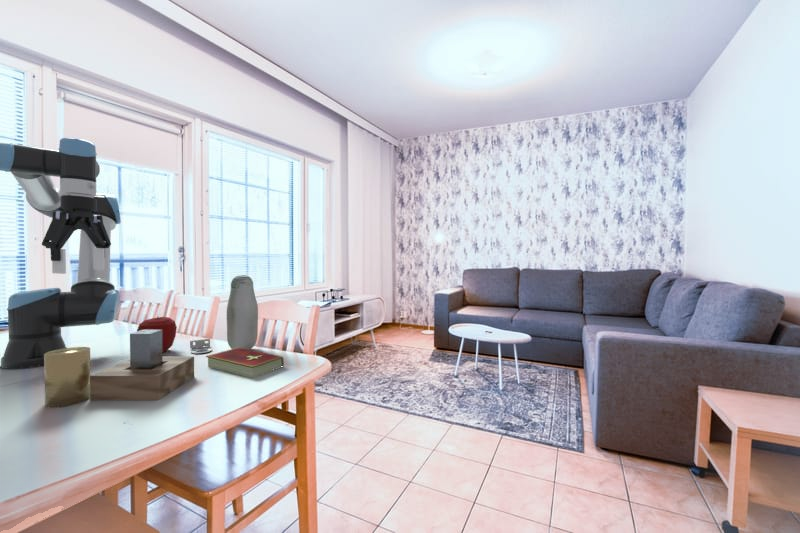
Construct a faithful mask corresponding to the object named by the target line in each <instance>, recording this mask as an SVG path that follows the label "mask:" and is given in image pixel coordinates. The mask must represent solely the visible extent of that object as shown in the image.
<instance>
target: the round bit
mask: <svg viewBox="0 0 800 533" xmlns="http://www.w3.org/2000/svg"><path fill="white" fill-rule="evenodd" d="M43 367H44V370H43V371H44V373H43V374H44V404H45V405H44V407H46V408H48V407H49V409H55V408H56V409H58V407H59V408H65V407H71V406H74V405H79V404H81V403H83V402H86V401H87V400H90V376H91V374H92V372H91V369H92V368H91V348H90V347H88V346H74V347H66V348H64V349H58V350H53V351H50V352H47V353H45V354H44V365H43Z"/></svg>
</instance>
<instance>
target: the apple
mask: <svg viewBox="0 0 800 533" xmlns="http://www.w3.org/2000/svg"><path fill="white" fill-rule="evenodd" d="M177 328H178V326H177V324H176V321H175V320H174V319H173V318H171V317H168V316H160V317H159V316H157V317H153V318H148V319H144V320H143V321H142V322H141V323H139V325H138V327H137V329H136V332H137V331H140V330H162V354H163V353H166V352H168V350H169V349H170V348H172V346H173V344H174V341H175V339H176V334H177Z"/></svg>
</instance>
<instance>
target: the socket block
mask: <svg viewBox="0 0 800 533" xmlns="http://www.w3.org/2000/svg"><path fill="white" fill-rule="evenodd" d="M162 357H163V364H162V365H160V366H158V367H156V368H154V369H152V370H130V358H129V359H127V360H124V361H123V362H120V363H117V364H114V365H113V366H110V367H108V368H106V369H103V370H101V371H98V372H96V373H94V374H92V375H91V376H90V398H89V400H90V401H159V400H161V399H162V398H164V397H166V396H167V395H168V394H170V393H172V392H173V391H175V390H176V389H178V388H180V387H181V386H182V385H184V384H185V383H187V382H189V381H190V380H192V379H193V378H195V356H194V355H193V356H187V355H186V356H175V355H174V356H170V355H169V356H165V355H162Z"/></svg>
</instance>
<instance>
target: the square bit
mask: <svg viewBox="0 0 800 533" xmlns="http://www.w3.org/2000/svg"><path fill="white" fill-rule="evenodd" d="M162 356H163V353H162V330H140V331H137V330H136V331H134V332H132V333H129V359H130V370H152V369H154V368H156V367H158V366H160V365H162V364H163V357H162Z"/></svg>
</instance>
